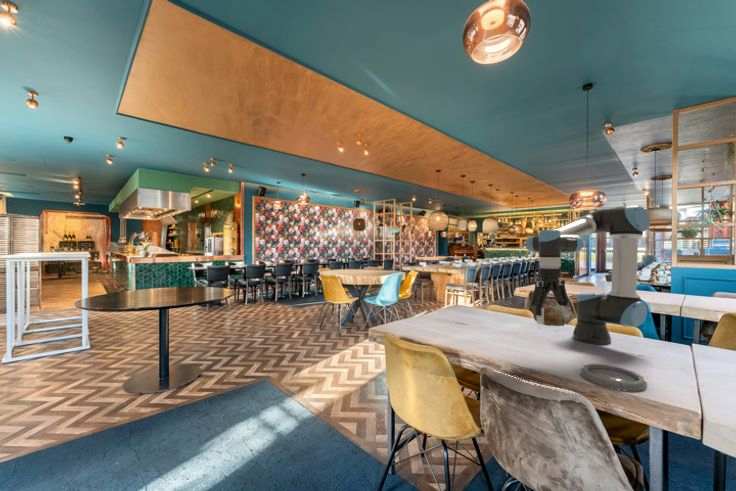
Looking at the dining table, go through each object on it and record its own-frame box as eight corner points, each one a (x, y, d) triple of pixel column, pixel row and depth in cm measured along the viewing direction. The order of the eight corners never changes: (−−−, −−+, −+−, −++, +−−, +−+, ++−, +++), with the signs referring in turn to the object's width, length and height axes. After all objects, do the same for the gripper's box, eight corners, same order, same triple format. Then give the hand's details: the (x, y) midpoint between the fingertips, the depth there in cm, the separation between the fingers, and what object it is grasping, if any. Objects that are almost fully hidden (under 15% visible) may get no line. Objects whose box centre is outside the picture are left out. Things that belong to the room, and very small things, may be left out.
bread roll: (559, 336, 116) (569, 318, 114) (531, 322, 121) (541, 304, 119) (559, 330, 124) (569, 313, 122) (533, 317, 129) (542, 300, 127)
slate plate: (600, 366, 117) (600, 360, 117) (659, 385, 100) (659, 379, 100) (568, 373, 110) (568, 367, 110) (625, 395, 93) (625, 388, 93)
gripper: (561, 266, 129) (561, 317, 129) (520, 268, 121) (521, 322, 121) (578, 267, 122) (579, 321, 122) (536, 269, 114) (537, 327, 114)
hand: (550, 322), depth 122 cm, fingers closed on bread roll, 10 cm apart
